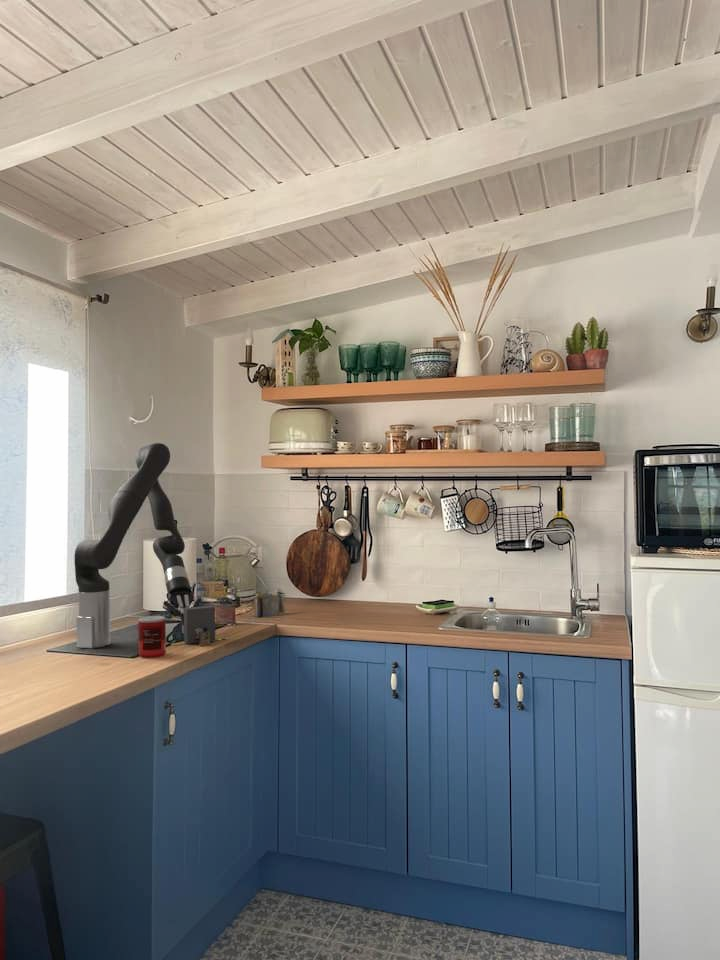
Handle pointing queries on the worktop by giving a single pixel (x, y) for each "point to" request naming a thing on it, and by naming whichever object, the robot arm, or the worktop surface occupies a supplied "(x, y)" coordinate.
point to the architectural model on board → (269, 605)
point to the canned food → (152, 636)
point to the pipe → (203, 637)
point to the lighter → (225, 611)
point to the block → (198, 622)
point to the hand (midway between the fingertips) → (187, 625)
